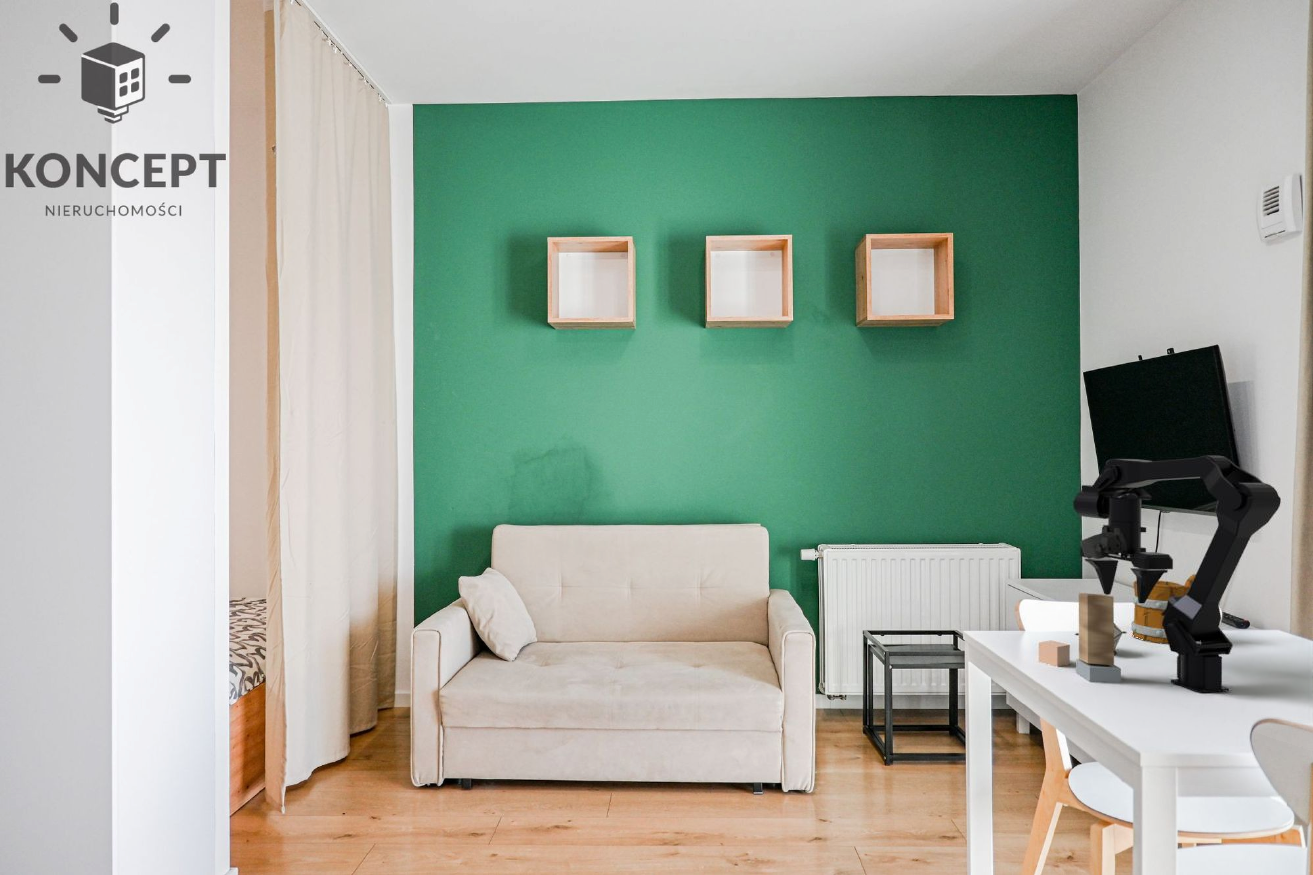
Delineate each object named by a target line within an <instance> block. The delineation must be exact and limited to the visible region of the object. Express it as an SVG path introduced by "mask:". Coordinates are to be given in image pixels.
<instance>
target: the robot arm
mask: <svg viewBox="0 0 1313 875" xmlns="http://www.w3.org/2000/svg"><path fill="white" fill-rule="evenodd" d="M1185 479H1186V480H1187V479H1201V480H1202V481H1203V483H1204V485H1205V486H1206V489H1207V491H1208V493H1209V494H1210V495H1211V496H1213V497H1214V498H1215V499H1216V500H1217V503H1216V507H1215V513H1216V518H1217V523H1218V525H1217V528H1216V530H1215V532H1214V534H1213V536H1212V539H1211V540H1210V543H1209V545H1208V547H1207V550H1206V551H1205V554H1204V555H1203V559H1202V561H1201V562H1200V564H1199V568H1198V569H1197V571H1196V575H1195V578H1194V580H1193V582H1192V584H1191V586H1190V588H1189V591H1188V592H1187V594H1186V595H1184V596H1176V597H1170V599H1169V600H1168V603H1167V607H1166V609H1165V611H1164V612H1163V613H1161V615H1162V616H1164V617H1163V620H1162V627H1163V628H1164V630H1165V634H1166V637H1167V640H1168V644H1167V645H1168V647H1169V650H1170V652H1173V653H1176V654H1178V655H1177V656H1176V678H1171V679H1170V683H1172V684H1175V685H1178V686H1181V687H1182V688H1183V687H1184V688H1187V689H1190V690H1192V691H1194V692H1197V693H1214V692H1215V693H1216V692H1218V693H1219V692H1230V687H1226V686H1223V657H1222V656H1220V655H1225V656H1226V655H1230V654H1231V651H1232V650H1233V649H1232V648H1233V643H1232V642H1231V641H1230V639H1229V638H1228V637H1227V636H1226V634H1225V633H1224V632H1223V630H1222V629H1221V628H1220V624H1221V621H1222V615H1221V610H1220V606H1219V605H1220V601H1221V599H1222V597H1223V596H1224V593H1225V592H1226V589H1227V587H1228V585H1229V583H1230V581H1231V579H1232V576H1233V575H1234V572H1235V571H1236V570H1237V569H1236V568H1237V567H1238V564H1239V562H1240V560H1241V558H1242V557H1243V556H1242V555H1243V554H1244V551H1246V550H1245V549H1246V547H1247V545H1248V543H1249V541H1250V539H1251V537H1252V536H1253V535H1254V534H1255V533H1257V532H1258V531H1259V530H1260V529H1262V528H1263V527H1265V526H1266V525H1267V524H1268V523H1270V522H1269V521H1271V519H1272V518H1273V516H1274V515H1275V514H1276V513H1277V511H1278V510H1279V508H1280V506H1281V501H1282V500H1281V497H1280V496H1279V494H1278V493H1279V492H1278V491H1277V490H1276V488H1275V487H1273V486H1272V485H1271V484H1268V483H1266V482H1263V481H1262V480H1261V479H1260V478H1259V477H1257V476H1255V475H1253V474H1252V473H1250V472H1249V471H1247V470H1245V469H1243V468H1241V467H1239V466H1238V465H1236V464H1235V463H1234V462H1233V461H1232V460H1230V459H1229V458H1227V457H1226V456H1222V455H1201V456H1199V457H1190V458H1189V457H1188V458H1177V459H1165V460H1153V461H1152V460H1146V459H1139V458H1138V459H1137V458H1136V459H1134V458H1112V459H1108V460H1107V461H1106V463H1105V464H1104V467H1103V468H1102V471H1101V472H1100V474H1099V475H1098V477H1097V478H1096V480H1095V481H1094V483H1093V484H1089V485H1088V484H1082V485H1081V490H1080V491H1079V492H1078V493H1077V494H1076V496H1075V497H1074V500H1073V504H1072V505H1073V509H1074V511H1075V513H1076V514H1077V515H1078V516H1080V517H1085V518H1092V519H1093V518H1095V519H1102V520H1108V521H1107V522H1108V524H1102V525H1103V526H1102V527H1101V532H1100V533H1098V534H1094V535H1092V536H1089V537H1087V538H1085V539H1082V540H1080V542H1079V543H1080V547H1079V550H1080V551H1079V554H1080V555H1079V556H1080V557H1082V558H1084V561H1085V562H1087V563H1088V564H1089V565H1091V566H1092V567H1093V568H1094V570H1095V572H1096V575H1097V577H1098V579H1099V580H1098V581H1099V583H1100V586H1101V588H1102V592H1103V595H1108V596H1111V592H1112V590H1113V585H1114V582H1115V577H1116V573H1117V570H1118V566H1119V565H1118V564H1119V560H1121V561H1125V562H1129V563H1131V564H1132V566H1133V567H1131V568H1130V570H1131V571H1132V573H1133V574H1134V575H1135V578H1136V579H1135V581H1137V597H1138V602H1139V603H1145V602H1146V600H1147V598H1148V596H1149V595H1150V593H1151V591H1152V590H1153V588H1154V586H1155V585H1156V583H1157V582H1158V581H1160V579H1161V578H1162V576H1163V575H1164V574H1167V573H1168V570H1173V569H1174V558H1173V557H1172V556H1171V555H1170V554H1169V553H1164V552H1163V553H1162V552H1155V551H1150V552H1149V551H1147V547H1142V533H1147V527H1146V526H1142V501H1143V500H1144V501H1150V500H1152V496H1151V495H1150V494H1149V493H1148V492H1146V490H1144V488H1143V487H1145V486H1149V485H1152V484H1154V483H1156V482H1160V481H1169V480H1171V481H1172V480H1185Z"/></svg>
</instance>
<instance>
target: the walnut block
mask: <svg viewBox="0 0 1313 875" xmlns="http://www.w3.org/2000/svg"><path fill="white" fill-rule="evenodd" d="M1114 599H1115V598H1114V596H1113V595H1105V594H1104V593H1103V594H1098V593H1087V592H1086V593H1085V592H1078V633H1079V635H1078V660H1082V661H1084V662H1086V663H1090V664H1104V665H1115V654H1114V618H1115V617H1114V616H1115V615H1114V614H1115V613H1114V612H1115V610H1114V608H1115V607H1114V606H1115V604H1114Z"/></svg>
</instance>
